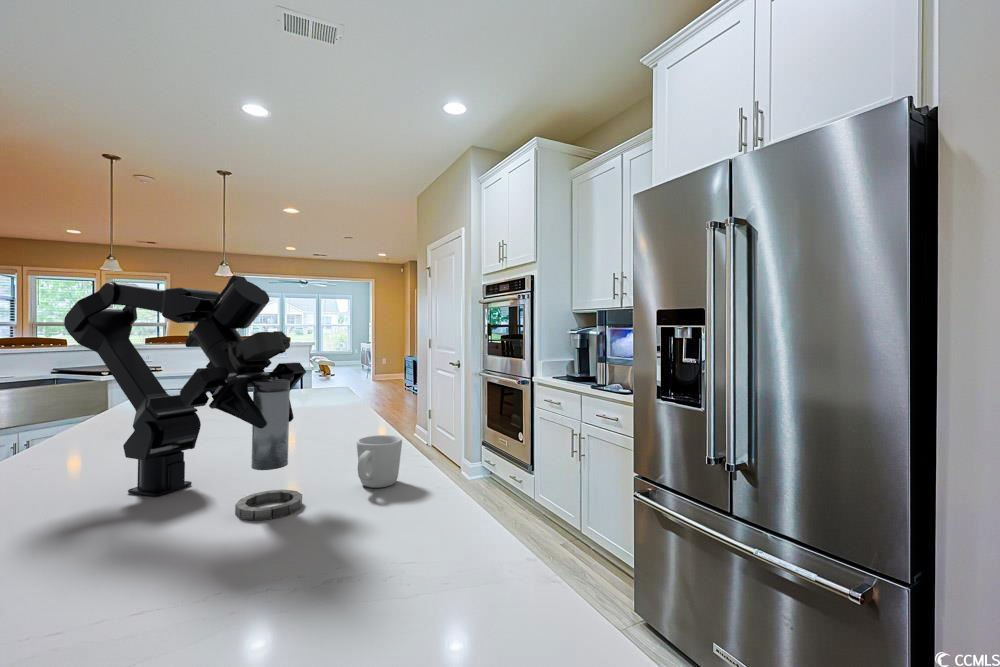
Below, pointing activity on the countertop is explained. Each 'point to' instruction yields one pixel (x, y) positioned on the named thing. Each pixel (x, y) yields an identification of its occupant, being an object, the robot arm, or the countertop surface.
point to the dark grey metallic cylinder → (271, 424)
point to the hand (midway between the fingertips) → (277, 423)
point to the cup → (378, 460)
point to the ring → (266, 513)
